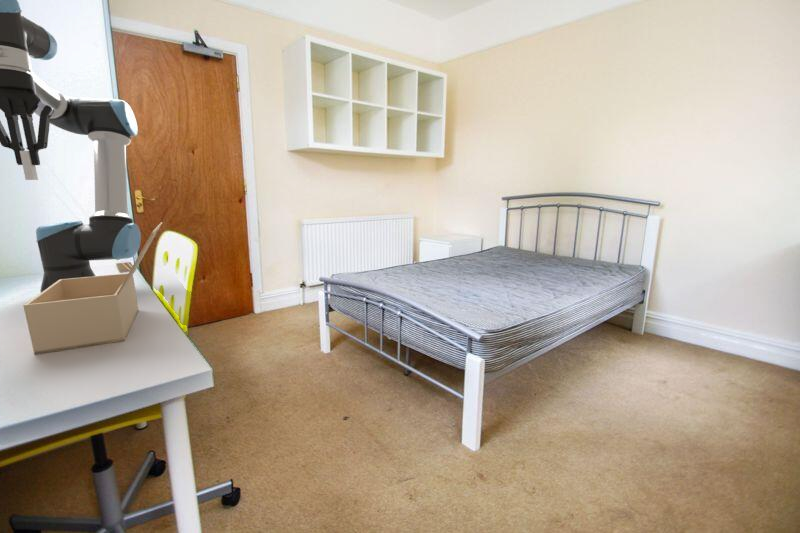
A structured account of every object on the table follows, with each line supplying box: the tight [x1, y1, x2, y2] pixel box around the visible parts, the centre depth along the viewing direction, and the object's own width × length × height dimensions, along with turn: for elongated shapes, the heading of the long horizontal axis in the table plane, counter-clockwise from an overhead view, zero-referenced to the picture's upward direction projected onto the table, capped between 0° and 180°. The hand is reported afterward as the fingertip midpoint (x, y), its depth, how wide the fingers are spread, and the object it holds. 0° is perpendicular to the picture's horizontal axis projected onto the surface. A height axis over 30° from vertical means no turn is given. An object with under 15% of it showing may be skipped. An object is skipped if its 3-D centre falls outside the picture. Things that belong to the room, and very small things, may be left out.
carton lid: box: [117, 221, 164, 295], centre depth 99 cm, size 24×16×1 cm
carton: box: [22, 272, 139, 355], centre depth 96 cm, size 24×16×11 cm, turn 27°
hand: (31, 179), depth 92 cm, fingers closed
